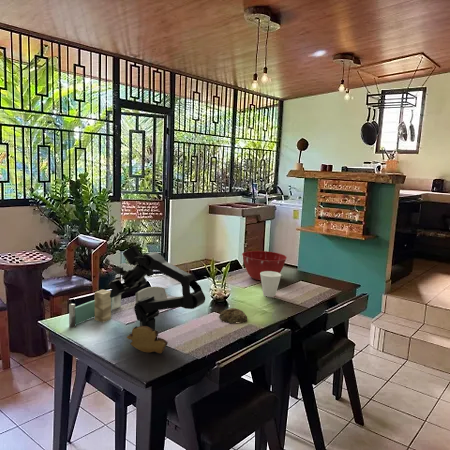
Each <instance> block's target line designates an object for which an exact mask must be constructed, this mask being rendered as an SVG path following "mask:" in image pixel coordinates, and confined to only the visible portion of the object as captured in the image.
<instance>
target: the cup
mask: <svg viewBox="0 0 450 450" xmlns="http://www.w3.org/2000/svg"><path fill="white" fill-rule="evenodd" d="M260 276H261V281H260V282H261V289H262V294H263V297H266V296H267V298H274V297H273V296H275V297H276V294H277V291H278V288H279V284H280V281H281V277H282V274H281V272H280V273H278V272H273V271H264V272H261V273H260Z"/></svg>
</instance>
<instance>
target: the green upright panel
mask: <svg viewBox="0 0 450 450" xmlns="http://www.w3.org/2000/svg"><path fill="white" fill-rule="evenodd" d="M112 310H113V309H112V298H111V311H112ZM93 318H95V299H94V300H90V301H87V302H85V303H82V304H79V305H77V306H75V326H77V325H79V324H81V323H83V322H86V321H88V320H91V319H93Z"/></svg>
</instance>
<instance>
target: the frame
mask: <svg viewBox="0 0 450 450" xmlns="http://www.w3.org/2000/svg"><path fill="white" fill-rule="evenodd" d="M75 307H76V303H73V302H72V303H69V305H68V314H69V315H68V318H69V319H68V324H69V325H68V327H69V328H70V329H74V328H76V325H75ZM121 307H122V294H121V295H118V296H115V297H112V310H117V309H119V308H121Z"/></svg>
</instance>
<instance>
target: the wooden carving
mask: <svg viewBox="0 0 450 450" xmlns="http://www.w3.org/2000/svg"><path fill="white" fill-rule="evenodd" d="M157 330H158V329H156V330H153V329H152V328H150V327H147V326H140V325H139V326H135V327H133V328H132V331H131V333H129V334H128V335H127V336H126V338H127V339H128V340H130V341H131V342H130V345H131V346H132V347H134V349H136V350H139V351H140V352H144V353H147V354H149V353H154V352H155V353H157V354H163V352H164V351H165V350H166V349H165V348H166V346H168V343H169V341H167V340H166V339H165V338H162V337H158V336H159V332H157Z"/></svg>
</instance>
